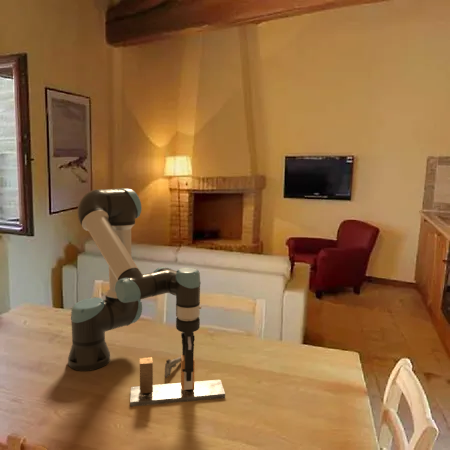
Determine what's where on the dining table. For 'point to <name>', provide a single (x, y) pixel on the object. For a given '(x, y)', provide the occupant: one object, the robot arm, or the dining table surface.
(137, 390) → the bar
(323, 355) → the dining table surface
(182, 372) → the slide leg
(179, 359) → the caliper
